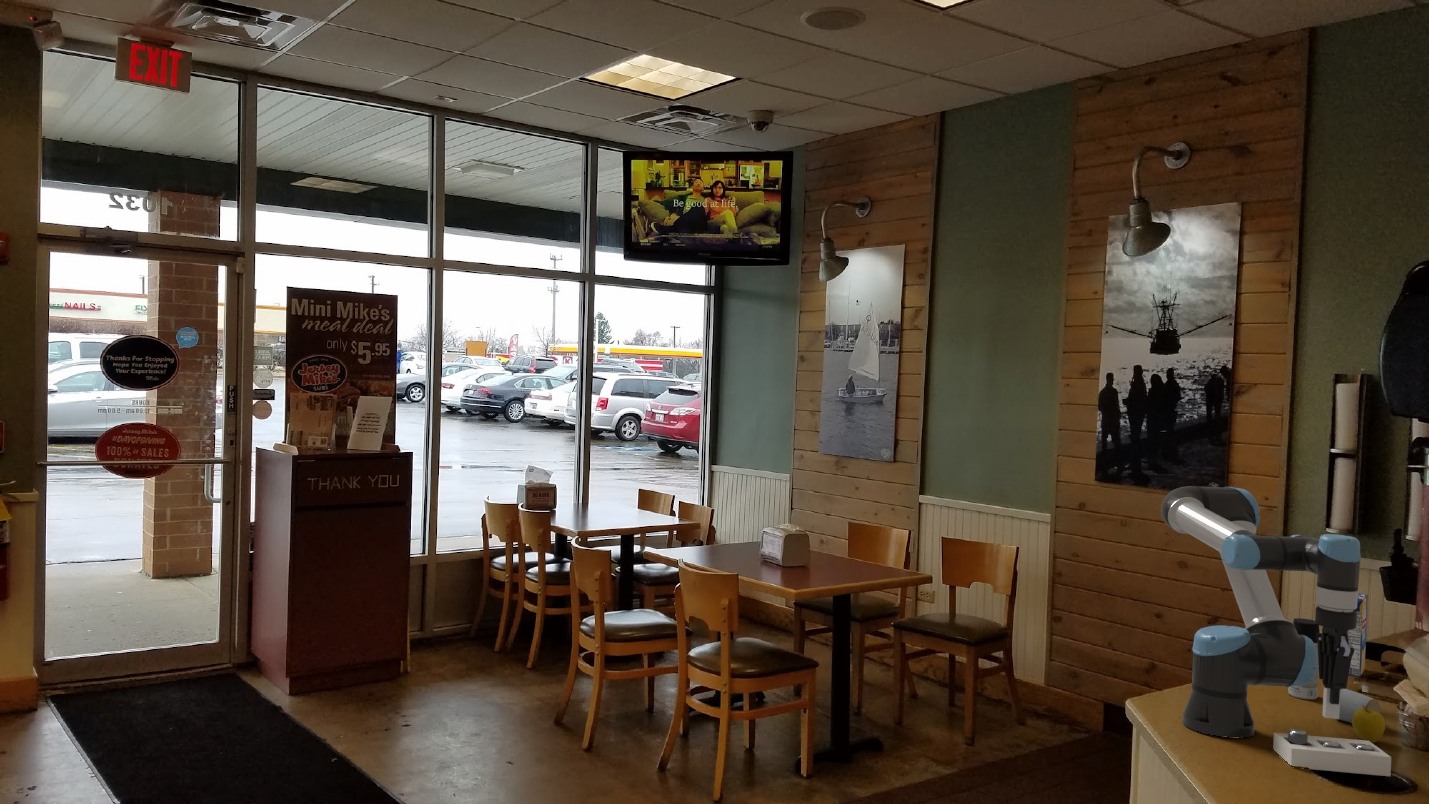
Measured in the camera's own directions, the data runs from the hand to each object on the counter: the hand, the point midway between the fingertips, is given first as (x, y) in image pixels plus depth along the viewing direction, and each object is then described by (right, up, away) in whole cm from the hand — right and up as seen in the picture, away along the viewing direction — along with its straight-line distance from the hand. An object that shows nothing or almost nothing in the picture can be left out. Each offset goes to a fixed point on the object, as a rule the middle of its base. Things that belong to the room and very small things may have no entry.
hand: (1330, 717), depth 213 cm
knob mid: (0, -10, 0) cm, 10 cm away
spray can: (+23, -10, +48) cm, 54 cm away
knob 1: (-7, -7, +1) cm, 10 cm away
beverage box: (+52, -11, +76) cm, 92 cm away
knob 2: (+6, -10, -1) cm, 11 cm away
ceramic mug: (+24, -11, +28) cm, 38 cm away
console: (0, -10, 0) cm, 10 cm away
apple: (+18, -10, +15) cm, 25 cm away
